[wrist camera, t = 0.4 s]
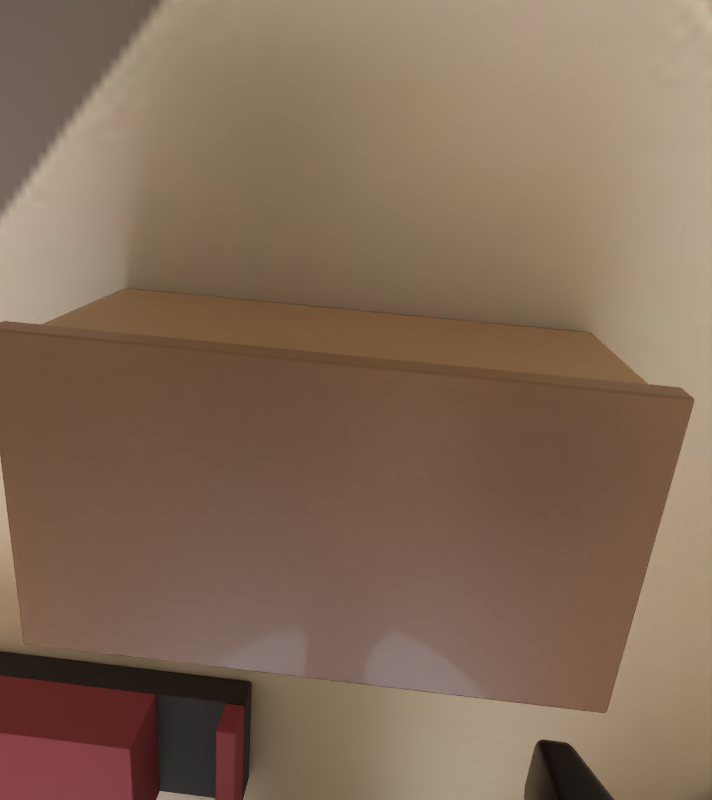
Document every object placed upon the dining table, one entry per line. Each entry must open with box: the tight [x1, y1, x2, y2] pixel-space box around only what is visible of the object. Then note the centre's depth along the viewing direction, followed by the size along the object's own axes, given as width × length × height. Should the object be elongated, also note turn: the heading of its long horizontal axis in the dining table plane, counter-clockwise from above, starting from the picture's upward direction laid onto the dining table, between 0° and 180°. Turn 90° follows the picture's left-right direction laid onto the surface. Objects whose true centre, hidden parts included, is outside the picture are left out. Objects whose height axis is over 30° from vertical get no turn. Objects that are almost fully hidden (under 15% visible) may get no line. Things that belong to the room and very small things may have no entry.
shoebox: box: [0, 289, 694, 713], centre depth 19 cm, size 9×16×7 cm, turn 85°
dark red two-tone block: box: [0, 652, 252, 800], centre depth 26 cm, size 5×12×4 cm, turn 85°
